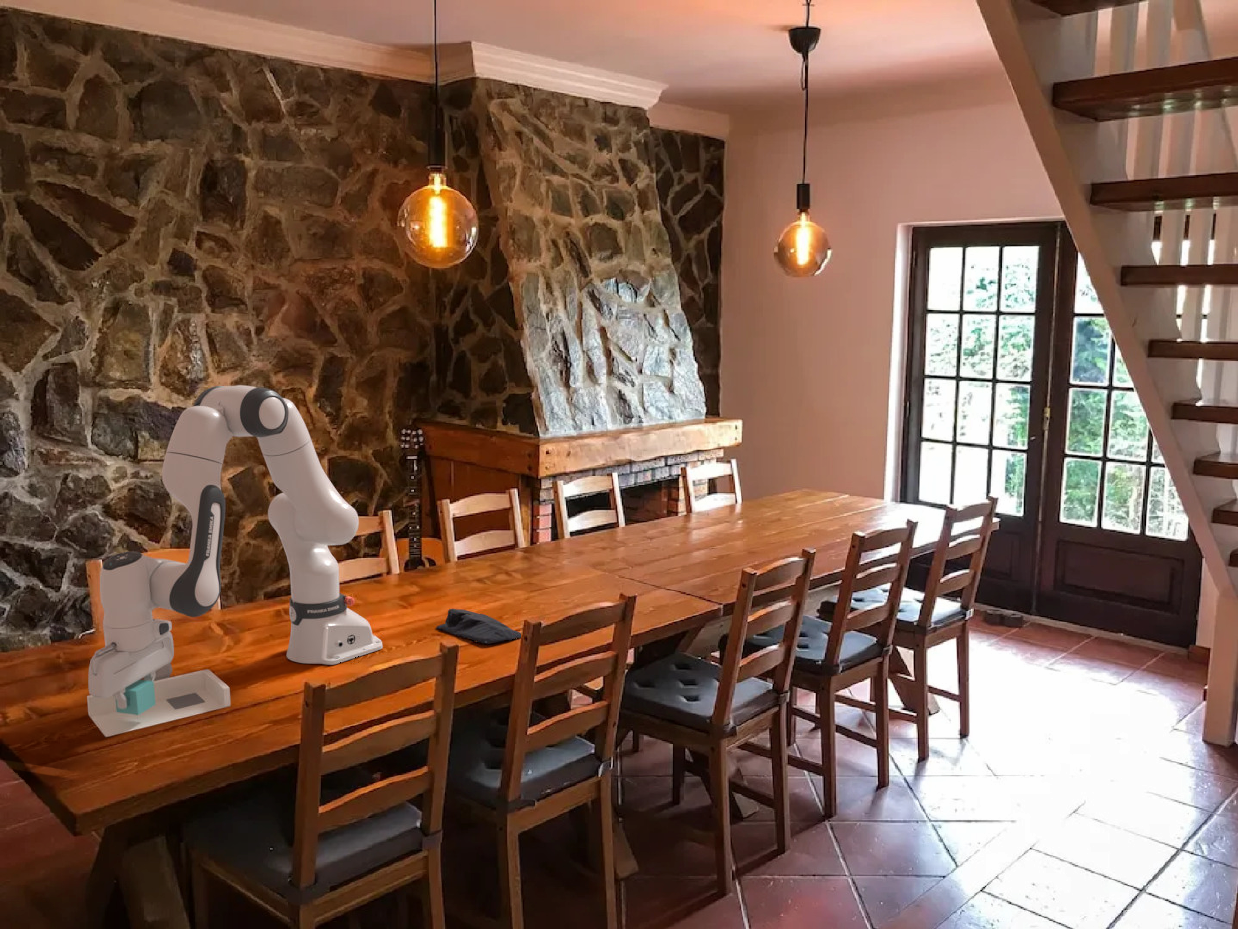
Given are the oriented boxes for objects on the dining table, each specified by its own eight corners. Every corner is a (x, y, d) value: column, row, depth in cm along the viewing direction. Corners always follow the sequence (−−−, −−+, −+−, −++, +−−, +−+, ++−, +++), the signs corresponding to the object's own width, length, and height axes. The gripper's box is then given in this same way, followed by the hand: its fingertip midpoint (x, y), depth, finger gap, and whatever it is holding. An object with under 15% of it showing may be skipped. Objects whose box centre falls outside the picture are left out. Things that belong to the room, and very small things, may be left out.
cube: (134, 702, 207) (132, 678, 206) (155, 704, 206) (153, 681, 205) (116, 712, 202) (114, 688, 201) (138, 715, 201) (136, 691, 200)
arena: (209, 690, 223) (207, 669, 222) (230, 710, 213) (229, 687, 212) (88, 719, 207) (87, 696, 207) (106, 741, 198) (104, 717, 197)
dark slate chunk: (480, 652, 250) (480, 633, 250) (432, 629, 266) (431, 611, 266) (530, 638, 261) (530, 620, 260) (480, 617, 277) (480, 600, 276)
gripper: (104, 655, 190) (111, 725, 193) (177, 619, 210) (182, 682, 212) (76, 652, 192) (83, 721, 195) (150, 616, 211) (156, 679, 214)
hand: (135, 700), depth 204 cm, fingers closed on cube, 5 cm apart
